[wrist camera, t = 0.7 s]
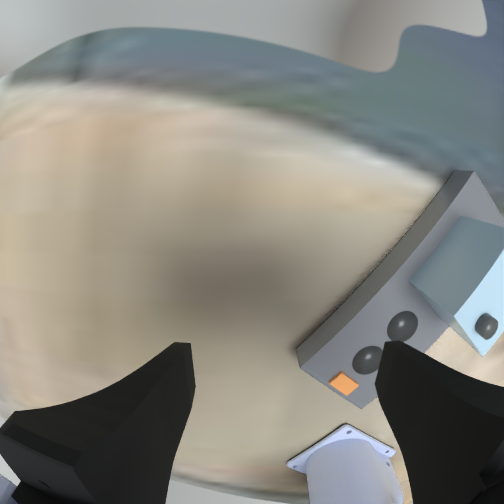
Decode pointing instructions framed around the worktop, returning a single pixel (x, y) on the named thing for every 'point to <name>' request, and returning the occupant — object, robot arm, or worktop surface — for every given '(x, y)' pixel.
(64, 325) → the worktop surface
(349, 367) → the grey control panel
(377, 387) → the robot arm
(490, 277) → the block
